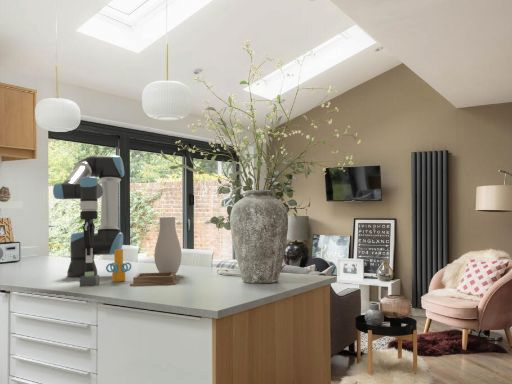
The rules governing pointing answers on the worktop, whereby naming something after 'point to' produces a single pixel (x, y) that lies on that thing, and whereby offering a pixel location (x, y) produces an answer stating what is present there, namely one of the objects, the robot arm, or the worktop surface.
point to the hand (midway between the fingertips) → (89, 262)
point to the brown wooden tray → (154, 279)
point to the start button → (89, 274)
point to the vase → (167, 247)
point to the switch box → (89, 281)
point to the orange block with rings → (118, 266)
